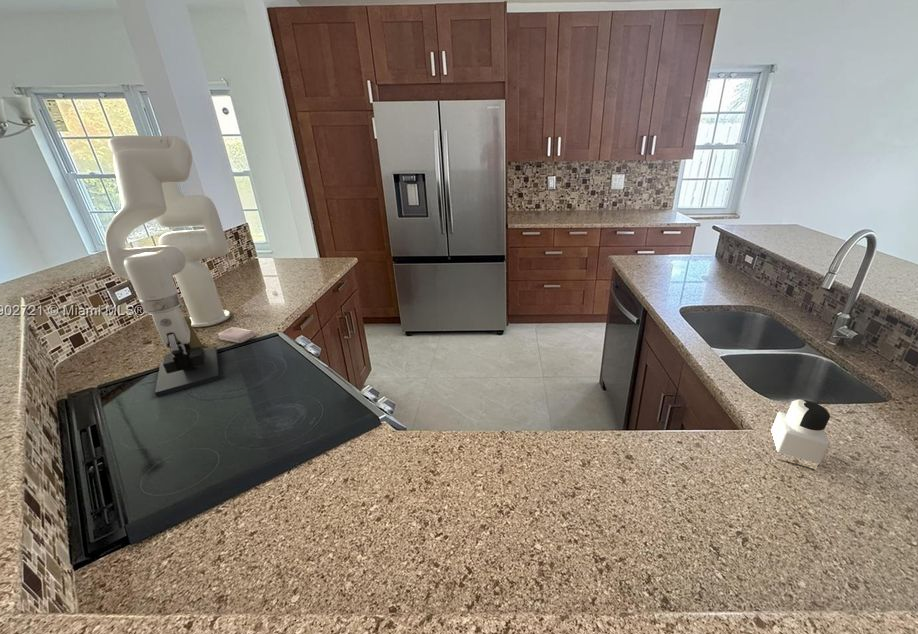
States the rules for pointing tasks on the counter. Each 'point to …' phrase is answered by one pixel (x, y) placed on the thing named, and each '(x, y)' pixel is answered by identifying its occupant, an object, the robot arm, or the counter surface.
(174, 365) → the top pad
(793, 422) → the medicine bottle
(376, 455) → the counter surface
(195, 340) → the cork
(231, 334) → the soap bar
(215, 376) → the base pad
